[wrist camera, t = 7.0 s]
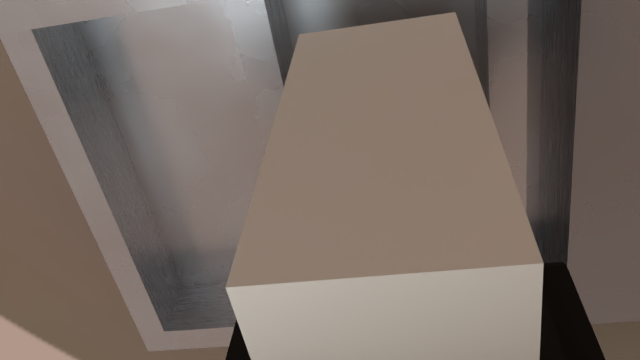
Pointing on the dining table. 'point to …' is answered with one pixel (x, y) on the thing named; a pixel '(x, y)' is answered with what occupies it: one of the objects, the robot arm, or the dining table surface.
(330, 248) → the block
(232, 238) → the rack
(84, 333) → the dining table surface
